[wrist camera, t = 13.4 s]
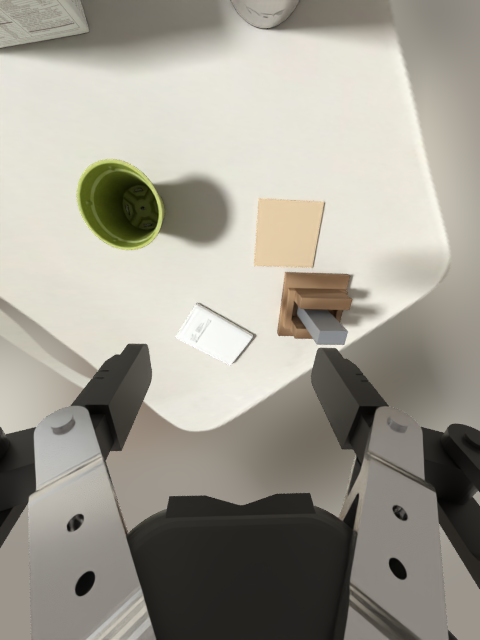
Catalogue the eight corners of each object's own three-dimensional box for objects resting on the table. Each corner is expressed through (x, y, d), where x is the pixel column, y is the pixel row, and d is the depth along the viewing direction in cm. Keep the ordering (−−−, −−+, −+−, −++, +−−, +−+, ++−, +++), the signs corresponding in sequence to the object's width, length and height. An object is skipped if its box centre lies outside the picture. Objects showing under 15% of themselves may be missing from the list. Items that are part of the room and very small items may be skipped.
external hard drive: (230, 361, 48) (176, 334, 45) (252, 332, 45) (197, 301, 42) (230, 366, 47) (174, 338, 43) (253, 337, 44) (195, 304, 40)
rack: (285, 272, 39) (294, 282, 34) (346, 274, 40) (365, 284, 35) (277, 332, 45) (284, 350, 39) (331, 333, 45) (346, 351, 40)
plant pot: (166, 165, 32) (146, 151, 24) (183, 236, 36) (171, 243, 28) (101, 176, 32) (60, 166, 24) (125, 245, 36) (98, 255, 29)
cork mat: (258, 198, 34) (258, 198, 34) (323, 201, 35) (324, 201, 35) (254, 265, 39) (254, 265, 38) (311, 267, 39) (312, 267, 39)
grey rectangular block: (298, 302, 41) (319, 330, 31) (320, 302, 41) (348, 331, 32) (296, 313, 42) (316, 344, 32) (318, 314, 42) (344, 344, 33)
